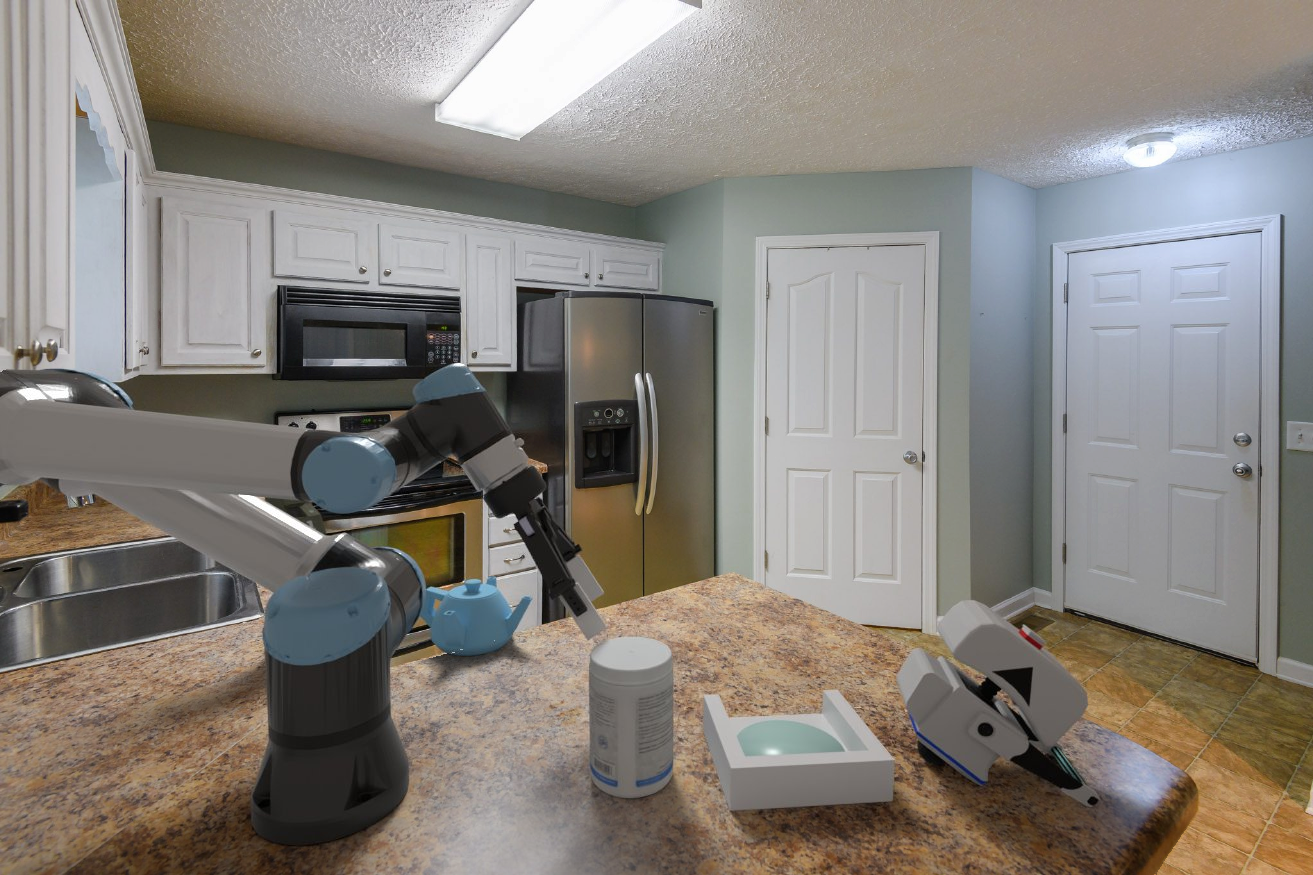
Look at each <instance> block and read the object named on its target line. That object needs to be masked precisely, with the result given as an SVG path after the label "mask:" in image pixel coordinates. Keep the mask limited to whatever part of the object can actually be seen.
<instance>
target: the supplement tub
mask: <svg viewBox="0 0 1313 875" xmlns="http://www.w3.org/2000/svg"><path fill="white" fill-rule="evenodd" d="M588 699H589V700H588V701H589V702H588V704H589V705H588V706H589V707H588V708H589V710H588V711H589V712H588V714H589V716H588V718H589V719H588V720H589V773H590V777H591V780H592V782H593V783H594V785H595V786H596V787H597V788H598V789H599V790H601V791H602V792H604V793H605V794H608V795H610V796H613V797H616V798H622V799H637V798H643V797H646V796H650V795H653V794H655V793H657V792H659V791H661V790H663V788H664V787H665V786H667V785H668V783H669V782H670V780H671V778H672V776H673V772H674V663H673V652H672V649H671V648H670V647H669V646H668V645H667V644H666V643H664V642H662V641H660V640H658V639H654V638H649V637H645V636H644V637H643V636H620V637H616V638H610V639H608V640H604V641H602V642H600V643H598V644H596V645H595V646H594V647H593V648H592V649H591V651H590V654H589V664H588Z"/></svg>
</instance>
